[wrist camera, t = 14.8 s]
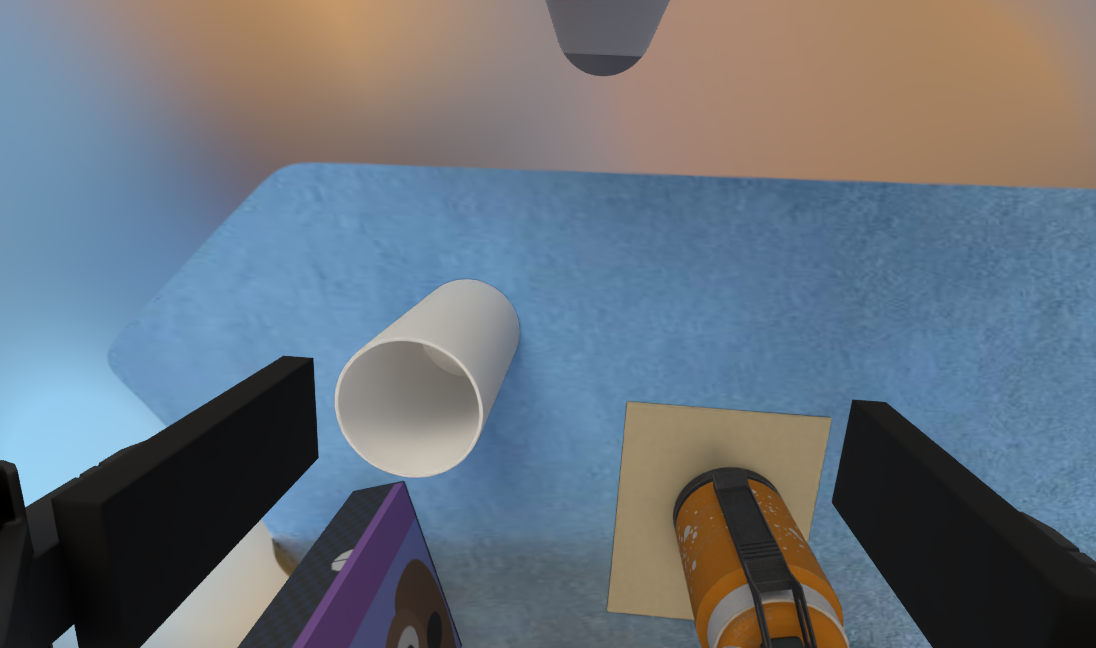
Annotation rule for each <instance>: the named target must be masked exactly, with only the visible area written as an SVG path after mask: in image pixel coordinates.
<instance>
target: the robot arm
mask: <svg viewBox="0 0 1096 648" xmlns="http://www.w3.org/2000/svg"><path fill="white" fill-rule="evenodd" d="M318 458H319V457H318V438H317V419H316V400H315V381H314V362H313V358H306V357H293V356H282V357H281V358H279V359H278V360H276V361H274V362H273V363H271V364H269V365H268V366H266V367H265V368H263V369H261V370H260V371H258V372H256V373H255V374H253V375H252V376H250V377H248V378H247V379H245V380H243V381H242V382H240V383H239V384H237V385H235V386H234V387H232V388H230V389H229V390H227V391H226V392H224V393H222V394H221V395H219V396H217V397H216V398H214V399H213V400H211V401H209V402H208V403H206V404H204V405H203V406H201V407H200V408H198V409H196V410H195V411H193V412H191V413H190V414H188V415H187V416H185V417H183V418H182V419H180V420H178V421H177V422H175V423H174V424H172V425H170V426H169V427H167V428H166V429H164V430H162V431H161V432H159V433H158V434H156V435H154V436H152V437H151V438H149V439H148V440H146V441H143V442H140V443H138V444H135V445H132V446H129V447H127V448H124V449H121V450H120V451H118V452H116V453H115V454H113V455H111V456H110V457H108V458H107V459H105V460H104V461H102V462H100V463H99V465H98V466H93V467H92V468H90V469H88V470H87V471H85V472H84V473H82V474H80V477H79V478H73V479H72V480H70V481H69V482H67V483H65V484H63V485H62V486H60V487H58V488H57V489H55V490H53V491H52V492H50V493H48V494H47V495H45V496H44V497H42V498H40V499H39V500H37V501H35V502H34V503H32V504H30V505H29V506H27V507H25V505H24V500H23V495H22V490H21V485H20V480H19V475H18V470H17V468H16V466H15V464H13V463H10V462H7V461H4V460H0V648H53V645H52V643H53V642H54V641H55V640H57V639H58V638H59V637H60V636H61V635H62V634H63V633H65V632H66V631H67V630H68V629H69V628H70V627H71V626H72V625H75V631H76V636H77V641H78V647H79V648H140V647H141V646H142V645H143V644H144V643H145V642H146V641H147V639H148V638H149V637H150V636H151V635H152V634H153V633H154V632H155V631H156V630H157V629H158V628H159V627H160V626H161V625H162V623H164V621H165V620H166V619H167V618H168V617H169V616H170V615H171V614H172V613H173V612H174V611H175V610H176V609H177V608H178V607H179V606H180V604H181V603H182V602H183V601H184V600H185V599H186V598H187V597H188V596H189V595H190V594H191V593H192V592H193V591H194V589H196V587H197V586H198V585H199V584H200V583H201V582H202V581H203V580H204V579H205V578H206V577H207V576H208V575H209V574H210V572H211V571H212V570H213V569H214V568H215V567H216V566H217V565H218V564H219V563H220V562H221V561H222V560H223V559H224V558H225V557H226V556H227V555H228V553H229V552H230V551H231V550H232V549H233V548H234V547H235V546H236V545H237V544H238V543H239V542H240V541H241V540H242V539H243V538H244V537H245V535H246V534H247V533H248V532H249V531H250V530H251V529H252V528H253V527H254V526H255V525H256V524H257V523H258V522H259V521H260V520H261V518H262V517H263V516H264V515H265V514H266V513H267V512H268V511H269V510H270V509H271V508H272V507H273V506H274V505H275V504H276V503H277V501H278V500H279V499H280V498H281V497H282V496H283V495H284V494H285V493H286V492H287V491H288V490H289V489H290V488H291V487H292V486H293V484H294V483H295V482H296V481H297V480H298V479H299V478H300V477H301V476H302V475H303V474H304V473H305V472H306V471H307V470H308V469H309V467H310V466H311V465H312V464H313V463H314V462H315V461H316V460H317V459H318ZM832 504H833V505H834V507H835V508H836V510H837V511H838V512H839V514H840V515H841V517H842V518H843V520H844V521H845V523H846V524H847V525H848V527H849V528H850V530H851V531H852V533H853V534H854V535H855V537H856V538H857V540H858V541H859V543H860V544H861V545H862V547H863V548H864V550H865V551H866V553H867V554H868V556H869V557H870V558H871V560H872V561H873V563H874V564H875V566H876V567H877V568H878V570H879V571H880V573H881V574H882V576H883V577H884V578H885V580H886V581H887V583H888V584H889V586H890V587H891V589H892V590H893V591H894V593H895V594H896V596H897V597H898V599H899V600H900V601H901V603H902V604H903V606H904V607H905V609H906V610H907V612H908V613H909V614H910V616H911V617H912V619H913V620H914V622H915V623H916V624H917V626H918V627H919V629H920V630H921V632H922V633H923V634H924V636H925V637H926V639H927V640H928V642H929V643H930V645H931V646H932V647H933V648H1096V562H1095V561H1094V560H1093V559H1091V558H1090V557H1089V556H1088V555H1086V554H1085V553H1080V551H1079V548H1077V547H1076V546H1075V545H1074V544H1072V543H1071V542H1070V541H1069V540H1067V539H1066V538H1065V537H1064V536H1062V535H1061V534H1060V533H1059V532H1057V531H1056V530H1055V529H1053V528H1051V527H1049V526H1047V525H1046V524H1044V523H1042V522H1040V521H1038V520H1036V519H1034V518H1033V517H1031V516H1029V515H1027V514H1025V513H1023V512H1019V511H1018V510H1016V509H1015V508H1014V507H1013V506H1012V505H1010V504H1009V503H1008V502H1007V501H1005V500H1004V499H1003V498H1002V497H1001V496H999V495H998V494H997V493H996V492H994V491H993V490H992V489H991V488H990V487H988V486H987V485H986V484H985V483H984V482H982V481H981V480H980V479H979V478H977V477H976V476H975V475H974V474H973V473H971V472H970V471H969V470H968V469H967V468H965V467H964V466H963V465H962V464H960V463H959V462H958V461H957V460H956V459H954V458H953V457H952V456H951V455H949V454H948V453H947V452H946V451H945V450H943V449H942V448H941V447H940V446H939V445H937V444H936V443H935V442H934V441H932V440H931V439H930V438H929V437H928V436H926V435H925V434H924V433H923V432H921V431H920V430H919V429H918V428H917V427H915V426H914V425H913V424H912V423H911V422H909V421H908V420H907V419H906V418H904V417H903V416H902V415H901V414H900V413H898V412H897V411H896V410H895V409H894V408H892V407H891V406H890V405H889V404H887V403H886V402H878V401H865V400H852V404H851V409H850V414H849V419H848V424H847V429H846V434H845V439H844V444H843V449H842V454H841V459H840V464H839V469H838V474H837V479H836V484H835V489H834V493H833V498H832Z"/></svg>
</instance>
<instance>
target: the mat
mask: <svg viewBox="0 0 1096 648" xmlns="http://www.w3.org/2000/svg"><path fill="white" fill-rule="evenodd" d="M831 420H832V419H831V418H830V417H818V416H806V415H793V414H780V413H768V412H755V411H742V410H730V409H717V408H704V407H692V406H679V405H666V404H654V403H641V402H628V401H627V407H626V417H625V428H624V438H623V449H622V459H621V470H620V481H619V491H618V502H617V512H616V523H615V533H614V544H613V554H612V565H611V576H610V586H609V597H608V607H607V611H608V612H617V613H627V614H637V615H647V616H657V617H667V618H677V619H687V620H694V617H693V612H692V607H691V603H690V598H689V593H688V589H687V584H686V579H685V575H684V570H683V566H682V561H681V556H680V552H679V547H678V542H677V538H676V533H675V528H674V523H673V510H674V506H675V502H676V500H677V498H678V496H679V494H680V492H681V491H682V489H683V488H684V487H685V486H686V485H687V484H688V483H689V482H690V481H691V480H693V479H694V478H695V477H697V476H699V475H700V474H702V473H704V472H707V471H710V470H712V469H717V468H722V467H739V468H744V469H748V470H751V471H754V472H756V473H758V474H760V475H762V476H763V477H765V478H766V479H767V480H769V481H770V482H771V483H772V484H773V485H774V486H775V487H776V489H777V491H778V492H779V494H780V495H781V497H782V499H783V501H784V503H785V504H786V506H787V508H788V510H789V511H790V513H791V515H792V517H793V519H794V520H795V522H796V524H797V526H798V528H799V529H800V531H801V533H802V535H803V537H804V538H805V540H806V542H807V544H808V539H809V534H810V528H811V523H812V518H813V513H814V508H815V503H816V497H817V492H818V487H819V482H820V477H821V472H822V466H823V461H824V456H825V451H826V446H827V441H828V435H829V430H830V425H831Z"/></svg>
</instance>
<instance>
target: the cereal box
mask: <svg viewBox="0 0 1096 648" xmlns="http://www.w3.org/2000/svg"><path fill="white" fill-rule="evenodd" d="M461 647H462V644H461V642H460V639H459V636H458V633H457V630H456V627H455V625H454V622H453V619H452V616H451V613H450V610H449V607H448V605H447V602H446V599H445V596H444V593H443V590H442V588H441V585H440V582H439V579H438V576H437V573H436V570H435V568H434V565H433V562H432V559H431V556H430V553H429V551H428V548H427V545H426V542H425V539H424V536H423V533H422V531H421V528H420V525H419V522H418V519H417V516H416V513H415V511H414V508H413V505H412V502H411V499H410V496H409V494H408V491H407V488H406V485H405V482H404V481H402V482H397V483H392V484H387V485H382V486H377V487H372V488H367V489H362V490H357V491H353V492H352V494H351V495H350V496H349V498H348V499H347V500H346V502H345V503H344V504H343V506H342V507H341V509H340V510H339V511H338V513H337V514H336V515H335V517H334V518H333V519H332V521H331V522H330V523H329V525H328V526H327V527H326V529H325V530H324V531H323V533H322V534H321V536H320V537H319V538H318V540H317V541H316V542H315V544H314V545H313V546H312V548H311V549H310V550H309V552H308V553H307V554H306V556H305V557H304V558H303V560H302V561H301V563H300V564H299V565H298V567H297V568H296V569H295V571H294V572H293V573H292V575H291V576H290V577H289V579H288V580H287V581H286V583H285V584H284V586H283V587H282V588H281V590H280V591H279V592H278V594H277V595H276V596H275V598H274V599H273V600H272V602H271V603H270V605H269V606H268V607H267V608H266V610H265V611H264V612H263V614H262V616H261V617H260V618H259V619H258V621H257V622H256V623H255V625H254V626H253V627H252V629H251V630H250V632H249V633H248V634H247V635H246V637H245V638H244V640H243V641H242V642H241V644H240V645H239V646H238V648H461Z"/></svg>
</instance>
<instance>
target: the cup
mask: <svg viewBox="0 0 1096 648" xmlns="http://www.w3.org/2000/svg"><path fill="white" fill-rule="evenodd" d="M519 337H520V327H519V321H518V317H517V314H516V312H515V310H514V308H513V306H512V304H511V303H510V301H509V300H508V299H507V298H506V297H505V296H504V295H503V294H502V293H501V292H500V291H499V290H497V289H496V288H494V287H493V286H491V285H489V284H487V283H484V282H481V281H477V280H469V279H462V280H455V281H451V282H448V283H446V284H444V285H442V286H440V287H438V288H437V289H436V290H434V291H433V292H432V293H430V294H429V295H428V296H427V297H425V298H424V299H423V300H422V301H420V302H419V303H418V304H417V305H415V306H414V307H413V308H412V309H410V310H409V311H408V312H406V313H405V314H404V315H403V316H401V317H400V318H399V319H398V320H396V321H395V322H394V323H393V324H391V325H390V326H389V327H388V328H386V329H385V330H384V331H383V332H381V333H380V334H379V335H377V336H376V337H375V338H374V339H372V340H371V341H370V342H369V343H367V344H366V345H365V346H364V347H362V348H361V349H360V350H359V351H358V352H357V353H356V354H354V356H353V357H352V358H351V359H350V360H349V361H348V363H347V364H346V366H345V367H344V369H343V371H342V372H341V374H340V377H339V379H338V382H337V386H336V391H335V411H336V416H337V420H338V423H339V426H340V428H341V431H342V433H343V435H344V436H345V438H346V440H347V441H348V443H349V444H350V445H351V447H352V448H353V449H354V450H355V451H356V452H357V453H358V454H359V455H360V456H361V457H362V458H363V459H365V460H366V461H367V462H369V463H370V464H372V465H373V466H375V467H377V468H379V469H381V470H383V471H385V472H388V473H391V474H394V475H398V476H403V477H428V476H433V475H437V474H440V473H443V472H445V471H447V470H449V469H451V468H453V467H454V466H456V465H457V464H459V463H460V462H461V461H462V460H463V459H464V458H465V457H466V456H467V455H468V454H469V453H470V452H471V450H472V449H473V447H474V446H475V444H476V443H477V441H478V439H479V437H480V435H481V432H482V430H483V428H484V425H485V423H486V421H487V418H488V416H489V414H490V411H491V409H492V406H493V404H494V402H495V399H496V397H497V395H498V392H499V390H500V387H501V385H502V383H503V380H504V378H505V375H506V373H507V371H508V368H509V366H510V364H511V361H512V359H513V356H514V354H515V352H516V349H517V346H518V343H519Z"/></svg>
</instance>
